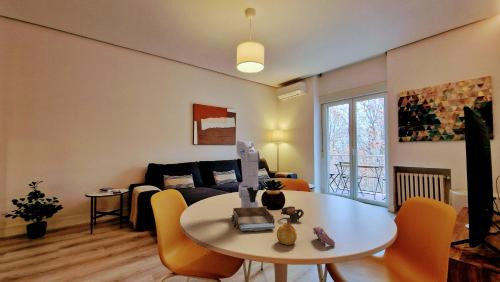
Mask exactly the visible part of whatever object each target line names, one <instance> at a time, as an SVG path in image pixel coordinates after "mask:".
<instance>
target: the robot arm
mask: <svg viewBox="0 0 500 282" xmlns="http://www.w3.org/2000/svg"><path fill="white" fill-rule="evenodd" d="M236 153H237V156H238V157H239V158H240V161H241V163H240V164H241V174H242V181H241V182H240V183H239V184H238V197H239V199H241V202H240V205H241V206H240V208H245V207H259V201H258V199H257V195H258V192H259V190H260V189H259V188H258V187H259V185H260V184H259V163H260V157H261V156H260V152H259V151H256V150H255V148H254V141H253V140H238V139H237V141H236Z"/></svg>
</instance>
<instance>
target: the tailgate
mask: <svg viewBox="0 0 500 282" xmlns="http://www.w3.org/2000/svg"><path fill="white" fill-rule="evenodd" d="M239 227H240V228H239V229H240V231H241V232H242V231H243V232H245V231H251V232H254V231H255V232H257V231H259V232H260V231H265V230H272V229H276V226H275V224H274V225H273V224H272V223H262V224H244V225H239Z"/></svg>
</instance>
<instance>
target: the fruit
mask: <svg viewBox="0 0 500 282" xmlns="http://www.w3.org/2000/svg"><path fill="white" fill-rule="evenodd" d="M297 233H298V232H297V231H296V228H295V227H294V226H293V225H292V224H291V222H289V223H287V222H285V223H284V224H282V225H280V226H279V227H278V228H277V230H276V238H277V240H278V242H279V243H281V244H282V245H284V246H291V245H293V244H294V243H295V242H296V240H297V238H298V234H297Z"/></svg>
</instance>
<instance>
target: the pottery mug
mask: <svg viewBox="0 0 500 282" xmlns="http://www.w3.org/2000/svg"><path fill="white" fill-rule="evenodd" d="M304 214H305V212H304V210H303V209H301V208H298V209H296V207H295V206H294V205H293V206H292V205H291V206H285V207H283V208H281V212H280V215H283V216H284V215H285V216H289V217H286V219H285V220H286V223H298V221H299V220H300V219H301V218H303V216H304Z"/></svg>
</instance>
